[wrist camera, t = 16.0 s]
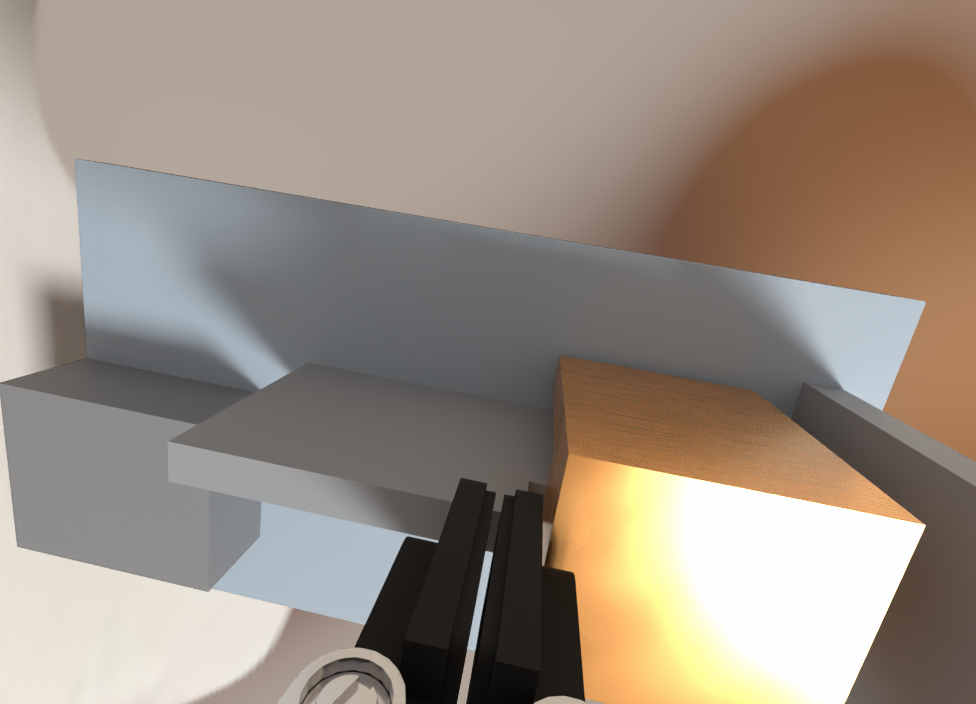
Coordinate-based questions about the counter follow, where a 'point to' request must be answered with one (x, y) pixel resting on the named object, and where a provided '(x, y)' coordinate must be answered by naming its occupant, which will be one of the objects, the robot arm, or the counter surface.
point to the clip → (712, 543)
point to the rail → (423, 397)
